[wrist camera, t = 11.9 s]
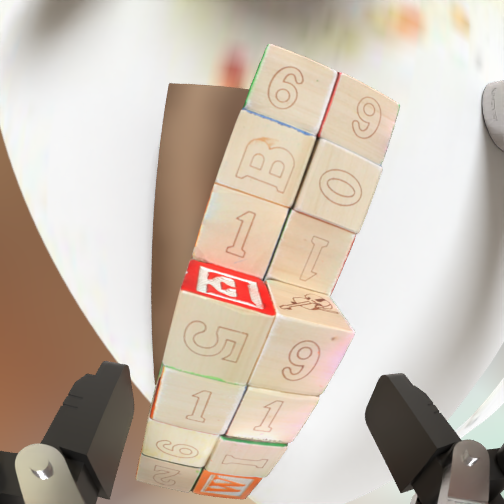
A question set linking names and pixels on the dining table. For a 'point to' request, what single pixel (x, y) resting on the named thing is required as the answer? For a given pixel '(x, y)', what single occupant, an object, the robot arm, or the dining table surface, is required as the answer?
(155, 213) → the walnut block
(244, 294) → the stack of blocks
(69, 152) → the dining table surface
